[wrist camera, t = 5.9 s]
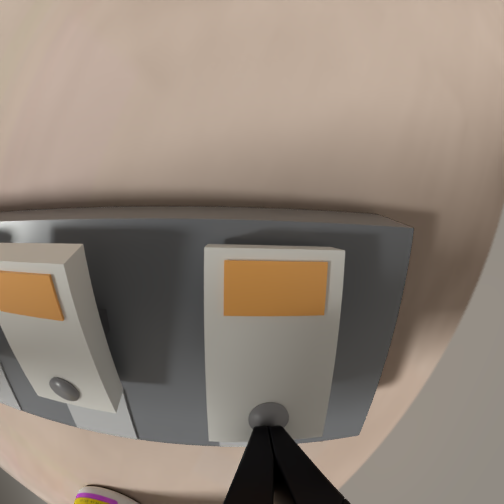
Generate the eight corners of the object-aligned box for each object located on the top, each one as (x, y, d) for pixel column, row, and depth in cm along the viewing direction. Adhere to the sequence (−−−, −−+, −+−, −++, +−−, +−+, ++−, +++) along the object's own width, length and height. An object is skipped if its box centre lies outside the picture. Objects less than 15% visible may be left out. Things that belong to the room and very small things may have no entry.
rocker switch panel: (-21, 359, 13) (-47, 386, 10) (-56, 217, 10) (-94, 229, 7) (342, 397, 15) (361, 442, 11) (376, 214, 12) (421, 231, 9)
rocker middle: (123, 389, 10) (115, 415, 9) (48, 375, 10) (37, 397, 8) (83, 243, 7) (61, 266, 6) (-3, 242, 7) (-26, 260, 6)
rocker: (313, 416, 9) (322, 438, 8) (210, 419, 9) (208, 443, 8) (330, 246, 9) (346, 250, 8) (207, 243, 9) (203, 247, 7)
